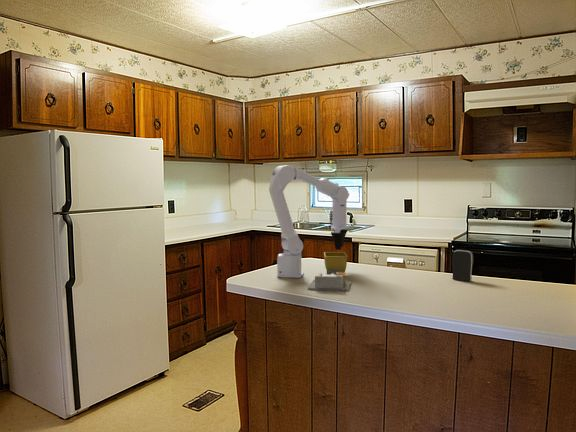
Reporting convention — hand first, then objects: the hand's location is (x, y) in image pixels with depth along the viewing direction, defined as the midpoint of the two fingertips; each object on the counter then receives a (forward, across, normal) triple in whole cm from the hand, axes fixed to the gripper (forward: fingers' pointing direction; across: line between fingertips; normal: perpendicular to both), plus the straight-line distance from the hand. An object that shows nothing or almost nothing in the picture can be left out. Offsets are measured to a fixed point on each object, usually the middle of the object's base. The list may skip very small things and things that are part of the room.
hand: (339, 248), depth 186 cm
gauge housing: (+10, -26, 0) cm, 28 cm away
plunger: (+9, -20, -1) cm, 22 cm away
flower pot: (+10, -9, +1) cm, 13 cm away
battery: (+10, -6, -47) cm, 49 cm away
